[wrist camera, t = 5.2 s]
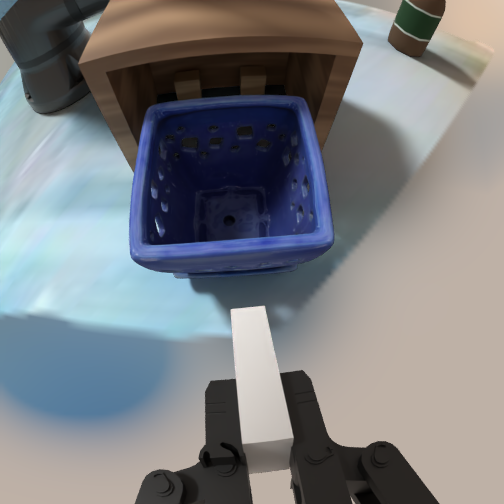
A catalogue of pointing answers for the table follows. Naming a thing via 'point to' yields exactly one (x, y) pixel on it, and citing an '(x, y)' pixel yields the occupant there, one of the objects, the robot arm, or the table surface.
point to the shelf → (216, 56)
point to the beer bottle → (415, 25)
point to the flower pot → (229, 188)
